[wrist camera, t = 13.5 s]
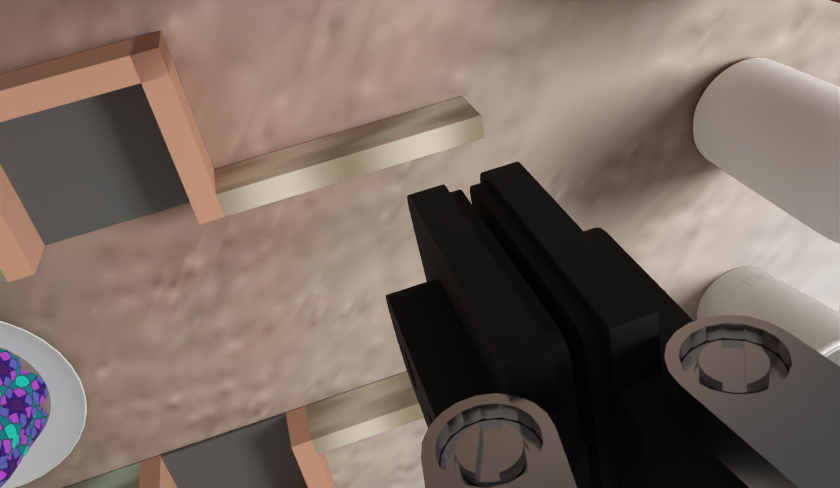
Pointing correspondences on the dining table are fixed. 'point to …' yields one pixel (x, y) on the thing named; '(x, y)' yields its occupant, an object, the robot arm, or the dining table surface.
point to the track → (319, 168)
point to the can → (776, 138)
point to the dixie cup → (774, 307)
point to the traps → (128, 215)
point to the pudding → (36, 407)
